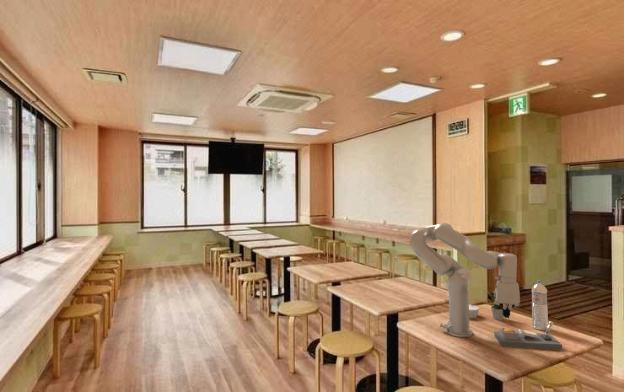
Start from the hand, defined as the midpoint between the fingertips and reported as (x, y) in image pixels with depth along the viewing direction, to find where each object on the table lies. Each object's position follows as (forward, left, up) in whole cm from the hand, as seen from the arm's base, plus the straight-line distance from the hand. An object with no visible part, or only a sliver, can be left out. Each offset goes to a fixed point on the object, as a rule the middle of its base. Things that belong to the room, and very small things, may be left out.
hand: (506, 316), depth 169 cm
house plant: (+5, +31, -12) cm, 33 cm away
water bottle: (+22, +20, -12) cm, 32 cm away
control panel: (+8, 0, -12) cm, 15 cm away
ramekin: (-10, +35, -12) cm, 38 cm away
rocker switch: (+9, 0, -8) cm, 12 cm away
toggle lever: (+17, 0, -8) cm, 19 cm away
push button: (+1, 0, -9) cm, 9 cm away
